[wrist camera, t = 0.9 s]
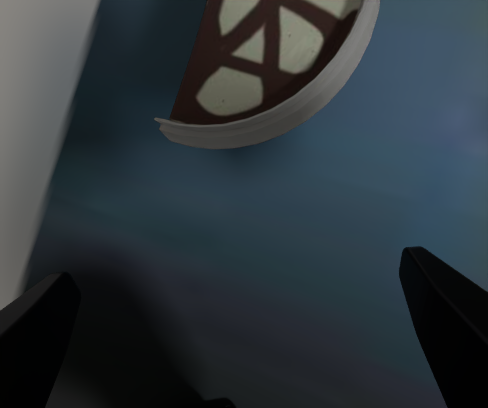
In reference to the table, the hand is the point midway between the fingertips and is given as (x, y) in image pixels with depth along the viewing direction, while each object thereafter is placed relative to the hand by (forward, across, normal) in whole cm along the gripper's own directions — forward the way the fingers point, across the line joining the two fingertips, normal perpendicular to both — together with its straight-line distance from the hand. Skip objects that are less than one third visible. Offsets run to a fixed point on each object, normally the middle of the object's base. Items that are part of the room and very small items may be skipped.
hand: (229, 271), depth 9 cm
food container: (+16, -3, -1) cm, 16 cm away
